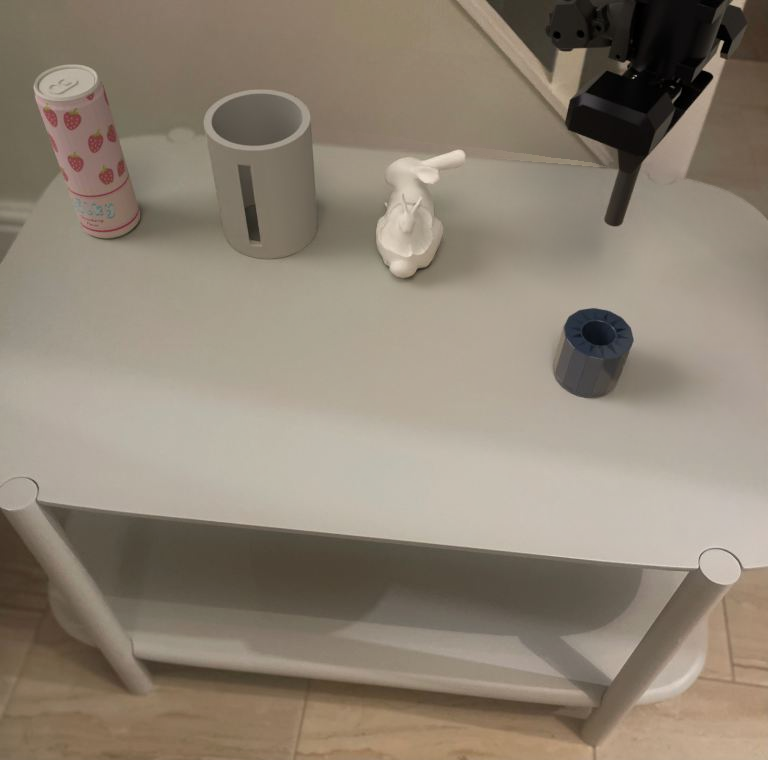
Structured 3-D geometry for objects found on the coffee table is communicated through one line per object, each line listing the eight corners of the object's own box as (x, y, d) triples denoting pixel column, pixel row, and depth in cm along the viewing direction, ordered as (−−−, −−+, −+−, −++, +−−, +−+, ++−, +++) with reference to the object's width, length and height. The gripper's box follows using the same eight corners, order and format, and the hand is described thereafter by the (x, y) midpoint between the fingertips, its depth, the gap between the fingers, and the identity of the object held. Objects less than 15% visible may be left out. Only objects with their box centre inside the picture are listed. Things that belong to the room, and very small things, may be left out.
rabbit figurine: (384, 201, 80) (386, 117, 73) (459, 207, 80) (469, 123, 72) (370, 284, 73) (370, 200, 65) (452, 292, 72) (462, 208, 65)
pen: (615, 212, 69) (644, 120, 62) (627, 223, 68) (657, 132, 61) (599, 217, 69) (626, 125, 62) (610, 229, 68) (639, 137, 61)
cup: (306, 190, 81) (298, 83, 72) (326, 249, 76) (320, 141, 66) (217, 205, 79) (197, 97, 70) (231, 266, 74) (211, 157, 65)
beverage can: (72, 237, 76) (19, 96, 64) (94, 200, 80) (46, 59, 68) (130, 243, 76) (86, 102, 64) (148, 205, 79) (110, 65, 67)
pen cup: (593, 340, 69) (607, 300, 65) (631, 386, 66) (647, 346, 62) (540, 359, 67) (551, 319, 63) (576, 407, 64) (589, 368, 60)
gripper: (637, -109, 59) (591, 82, 72) (515, -15, 50) (486, 186, 62) (785, -70, 56) (709, 125, 68) (683, 40, 46) (616, 243, 58)
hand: (630, 165), depth 64 cm, fingers closed on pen, 2 cm apart
